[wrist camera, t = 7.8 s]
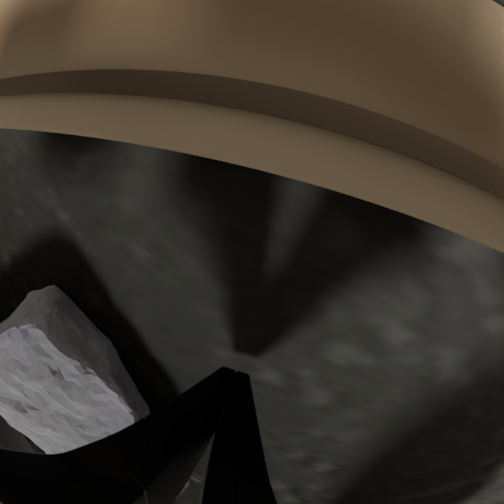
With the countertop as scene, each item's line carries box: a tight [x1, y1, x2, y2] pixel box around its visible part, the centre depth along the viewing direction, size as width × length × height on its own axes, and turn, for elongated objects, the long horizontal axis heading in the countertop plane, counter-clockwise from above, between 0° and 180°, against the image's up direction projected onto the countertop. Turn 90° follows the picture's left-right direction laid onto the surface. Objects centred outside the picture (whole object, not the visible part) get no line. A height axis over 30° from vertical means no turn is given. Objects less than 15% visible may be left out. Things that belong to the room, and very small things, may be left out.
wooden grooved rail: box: [0, 0, 504, 253], centre depth 5 cm, size 5×26×4 cm, turn 77°
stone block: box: [0, 285, 190, 498], centre depth 12 cm, size 12×5×10 cm
